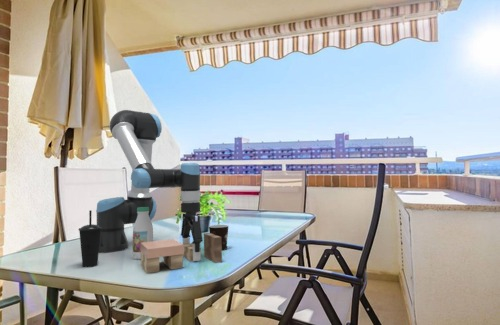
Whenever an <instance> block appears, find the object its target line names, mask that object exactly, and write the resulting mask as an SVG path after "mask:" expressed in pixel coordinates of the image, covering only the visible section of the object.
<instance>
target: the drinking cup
mask: <svg viewBox="0 0 500 325" xmlns="http://www.w3.org/2000/svg"><path fill="white" fill-rule="evenodd" d="M88 211H89V213H88V215H89V219H88V223H89V224H85V225H83V226H81V227H79V228H78V231H79V240H80V252H81V253H80V254H81V263H82V267H83V268H92V267H96V266H98V264H99V254H100V252H99V244H100V234H101V229H102V227H100V226H98V225H97V224H93V223H92V210H88Z"/></svg>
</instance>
